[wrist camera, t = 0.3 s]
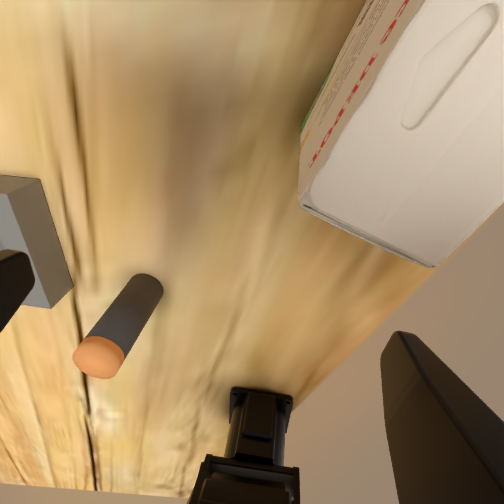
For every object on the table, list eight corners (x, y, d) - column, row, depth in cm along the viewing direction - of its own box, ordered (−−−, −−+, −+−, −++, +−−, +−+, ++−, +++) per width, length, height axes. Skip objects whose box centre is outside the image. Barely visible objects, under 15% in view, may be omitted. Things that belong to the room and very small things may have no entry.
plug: (164, 303, 28) (120, 381, 21) (132, 298, 28) (78, 375, 21) (161, 276, 26) (112, 352, 19) (127, 271, 26) (67, 345, 20)
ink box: (367, 167, 19) (436, 283, 9) (296, 129, 19) (289, 210, 9) (478, 7, 15) (847, -100, 5) (389, -49, 14) (599, -307, 4)
